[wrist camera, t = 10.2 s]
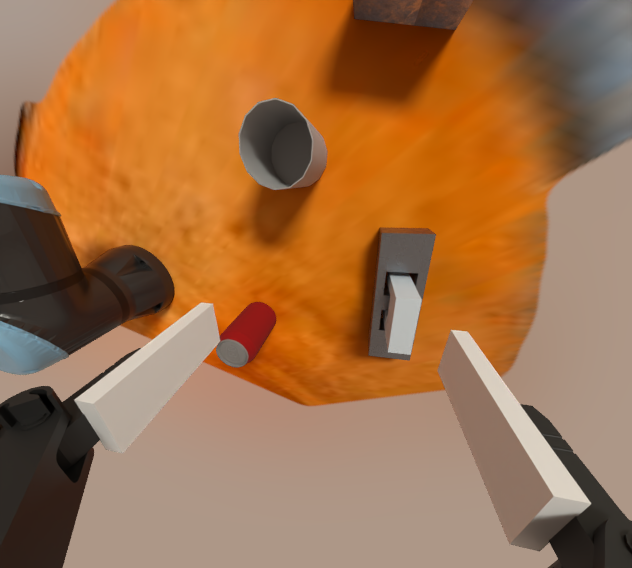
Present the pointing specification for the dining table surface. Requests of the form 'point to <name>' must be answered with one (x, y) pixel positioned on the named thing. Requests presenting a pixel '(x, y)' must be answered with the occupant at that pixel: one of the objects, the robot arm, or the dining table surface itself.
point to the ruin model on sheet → (413, 12)
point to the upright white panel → (401, 313)
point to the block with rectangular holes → (397, 256)
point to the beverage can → (246, 335)
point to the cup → (281, 146)
